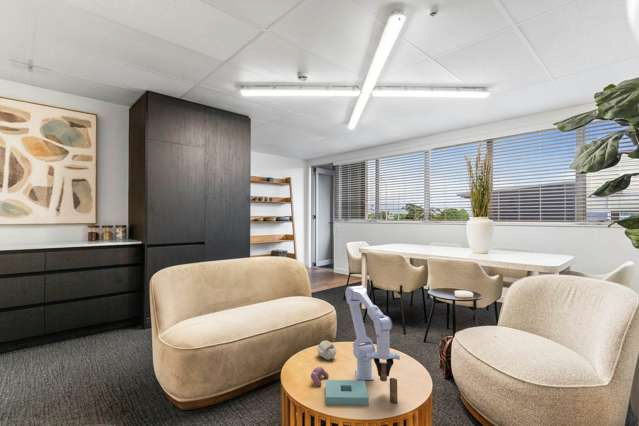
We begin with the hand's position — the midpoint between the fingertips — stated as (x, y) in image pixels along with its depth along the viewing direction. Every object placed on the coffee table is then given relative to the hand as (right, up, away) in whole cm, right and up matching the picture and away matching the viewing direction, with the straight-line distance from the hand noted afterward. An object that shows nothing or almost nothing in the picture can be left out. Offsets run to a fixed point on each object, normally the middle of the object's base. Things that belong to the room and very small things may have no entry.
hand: (383, 375), depth 135 cm
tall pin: (+3, -7, -7) cm, 11 cm away
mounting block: (-17, -7, -3) cm, 19 cm away
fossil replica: (-25, -9, +35) cm, 44 cm away
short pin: (0, -2, 0) cm, 2 cm away
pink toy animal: (-29, -8, +9) cm, 31 cm away
